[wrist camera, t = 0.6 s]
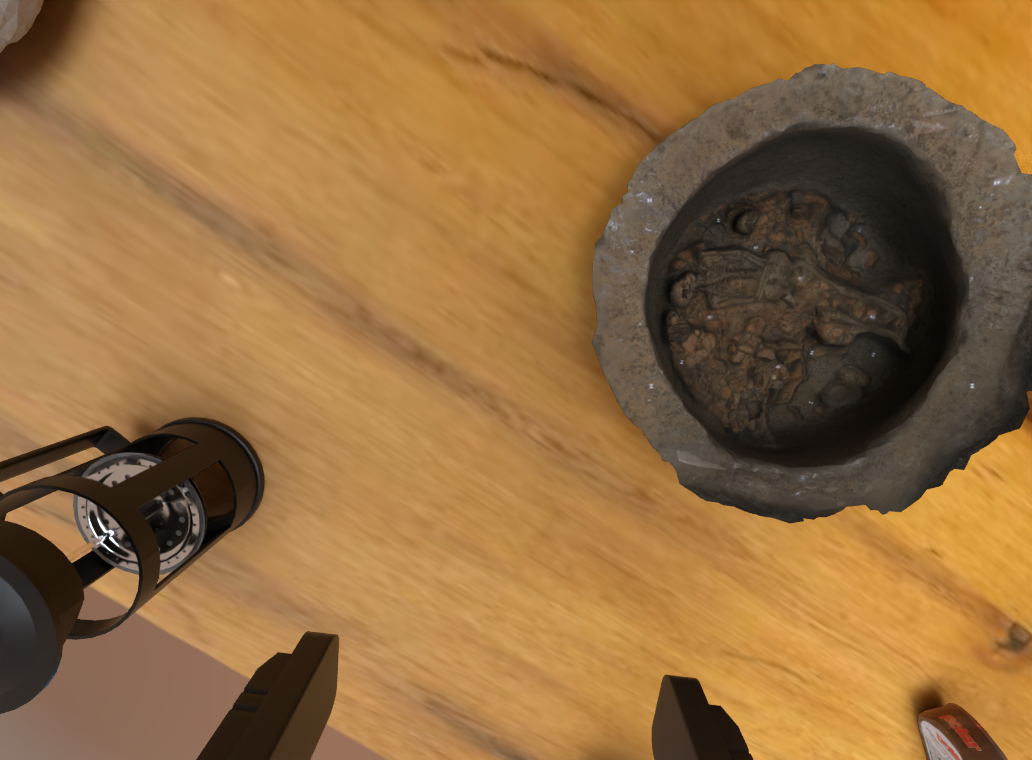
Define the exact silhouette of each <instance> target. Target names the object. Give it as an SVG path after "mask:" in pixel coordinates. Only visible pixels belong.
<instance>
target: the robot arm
mask: <svg viewBox="0 0 1032 760" xmlns="http://www.w3.org/2000/svg"><path fill="white" fill-rule="evenodd" d="M338 651H339V637H338V635H335V634H327V633H318V632H310V631H307V632H306V633H305V634H304V635H303V636H302V638H301V640H300V641H299V643H298V644H297V646H296V648H295V649H294V651H293V653H292V654H288V653H279V652H278V653H277V654H276V655H274V656H273V657H272V658H270V659H269V660H268V661H267V662H265V663H264V664H263V665H262V666H260V667H259V668H258V669H257V671H256V672H255V674H254V675H253V677H252V678H251V679H250V681H249V682H248V684H247V686H246V687H245V688H244V692H243V693H241V694H240V696H239V697H238V699H237V700H236V702H235V703H234V705H233V708H232V710H230V711H229V712H228V713H227V715H226V717H225V718H224V719H223V721H222V722H221V724H220V725H219V727H218V728H217V730H216V731H215V733H214V734H213V736H212V737H211V739H210V740H209V742H208V743H207V745H206V746H205V748H204V749H203V750H202V752H201V753H200V755H199V757H198V758H197V759H196V760H310V759H311V757H312V754H313V752H314V750H315V748H316V746H317V743H318V741H319V739H320V736H321V734H322V732H323V730H324V728H325V725H326V723H327V721H328V719H329V716H330V714H331V711H332V708H333V704H334V700H335V696H336V690H337V674H338ZM652 748H653V755H654V759H655V760H753V758H752V756H751V754H749V749H748V747H747V745H746V742H745V740H744V738H743V736H742V734H741V732H740V729H739V727H738V726H737V725H736V723H735V722H734V721H733V720H732V719H731V718H730V716H729V715H728V714H727V713H726V712H725V711H724V709H723V708H722V707H721V706H717V705H709V704H708V701H707V699H706V696H705V694H704V692H703V689H702V687H701V685H700V682H699V681H698V680H697V679H696V678H689V677H681V676H672V675H665V676H664V677H663V679H662V683H661V688H660V692H659V697H658V702H657V706H656V711H655V716H654V720H653V725H652Z"/></svg>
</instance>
